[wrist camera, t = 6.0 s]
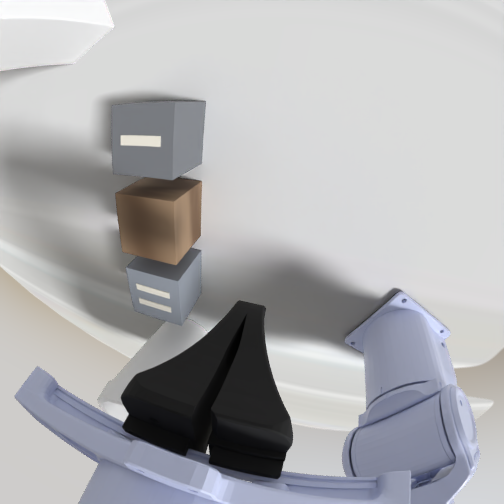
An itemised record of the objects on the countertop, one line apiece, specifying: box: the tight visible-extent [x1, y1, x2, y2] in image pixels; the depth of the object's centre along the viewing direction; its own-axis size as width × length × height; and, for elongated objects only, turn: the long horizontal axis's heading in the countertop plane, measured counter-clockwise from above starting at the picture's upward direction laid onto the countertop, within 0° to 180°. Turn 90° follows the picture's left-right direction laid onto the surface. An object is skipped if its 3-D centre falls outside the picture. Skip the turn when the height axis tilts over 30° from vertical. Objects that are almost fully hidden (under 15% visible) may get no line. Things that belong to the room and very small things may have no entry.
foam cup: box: [97, 319, 208, 422], centre depth 26 cm, size 10×9×13 cm
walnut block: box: [115, 177, 202, 265], centre depth 21 cm, size 5×5×5 cm
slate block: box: [126, 248, 201, 326], centre depth 25 cm, size 5×5×5 cm
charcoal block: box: [111, 101, 206, 180], centre depth 18 cm, size 5×5×5 cm
